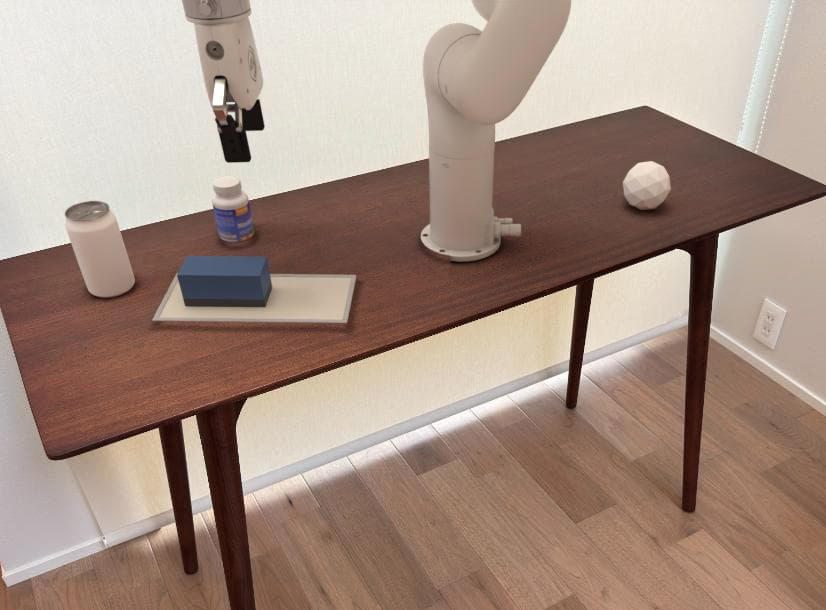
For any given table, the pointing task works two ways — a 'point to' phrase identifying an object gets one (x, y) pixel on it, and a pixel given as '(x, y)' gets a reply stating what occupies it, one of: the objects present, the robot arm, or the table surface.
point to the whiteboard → (273, 302)
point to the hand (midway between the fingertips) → (246, 145)
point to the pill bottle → (232, 210)
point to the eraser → (225, 281)
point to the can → (99, 249)
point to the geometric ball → (646, 185)
